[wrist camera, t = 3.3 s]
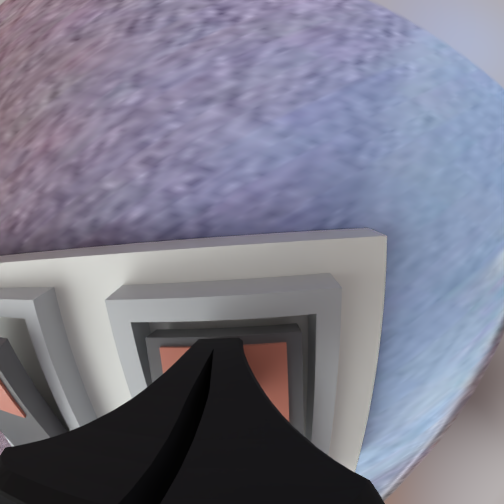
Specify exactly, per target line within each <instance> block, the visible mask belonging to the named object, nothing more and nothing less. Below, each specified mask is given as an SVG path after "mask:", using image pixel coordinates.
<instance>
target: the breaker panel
mask: <svg viewBox="0 0 504 504" xmlns="http://www.w3.org/2000/svg"><path fill="white" fill-rule="evenodd" d="M386 257H387V236H386V235H384V234H382V233H379V232H377V231H375V230H372V229H370V228H353V229H335V230H317V231H300V232H284V233H268V234H253V235H238V236H223V237H209V238H196V239H182V240H169V241H156V242H144V243H132V244H120V245H108V246H97V247H85V248H74V249H64V250H53V251H43V252H32V253H22V254H12V255H3V256H0V337H2V338H7V339H8V340H9V342H10V344H11V346H12V348H13V350H14V351H15V353H16V355H17V357H18V359H19V360H20V362H21V364H22V365H23V367H24V369H25V370H26V372H27V374H28V375H29V377H30V378H31V380H32V382H33V383H34V385H35V386H36V388H37V389H38V391H39V392H40V394H41V395H42V397H43V398H44V400H45V401H46V402H47V404H48V405H49V407H50V408H51V409H52V411H53V412H54V413H55V415H56V416H57V417H58V419H59V420H60V421H61V423H62V424H63V425H64V427H65V428H66V429H67V430H68V431H71V430H73V429H76V428H78V427H81V426H83V425H85V424H87V423H89V422H91V421H93V420H95V419H97V418H99V417H101V416H103V415H105V414H107V413H109V412H111V411H113V410H115V409H116V408H118V407H119V406H121V405H123V404H124V403H126V402H127V401H129V400H130V399H132V398H133V397H135V396H136V395H138V394H139V393H140V392H142V391H143V390H144V389H146V388H147V387H148V386H149V385H150V384H152V379H151V372H150V366H149V360H148V353H147V346H146V339H145V338H146V337H147V336H148V335H150V334H151V333H152V332H154V331H155V330H156V329H204V328H230V327H249V326H265V325H279V324H292V323H297V324H298V326H299V328H300V329H301V331H302V357H303V414H304V436H305V437H306V438H307V439H308V440H309V441H310V442H311V443H313V444H314V445H315V446H316V447H317V448H319V449H320V450H321V451H323V452H324V453H325V454H327V455H328V456H330V457H331V458H332V459H334V460H335V461H337V462H338V463H340V464H342V465H343V466H345V467H346V468H348V469H350V470H351V471H353V472H355V470H356V466H357V462H358V459H359V455H360V451H361V446H362V442H363V438H364V433H365V429H366V424H367V419H368V415H369V409H370V404H371V399H372V393H373V387H374V381H375V375H376V368H377V361H378V354H379V346H380V338H381V329H382V319H383V308H384V295H385V279H386ZM5 437H6V436H5ZM6 439H7V440H8V438H7V437H6ZM8 442H9V443H10V445H11V446H12V447H13V446H14V445H13V444H12V443H11V442H10V441H9V440H8Z"/></svg>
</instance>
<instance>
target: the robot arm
mask: <svg viewBox="0 0 504 504" xmlns="http://www.w3.org/2000/svg"><path fill="white" fill-rule="evenodd" d="M0 504H385V503H384V502H383V500H382V498H381V496H380V495H379V493H378V492H377V490H376V489H375V487H374V486H373V484H372V483H371V481H370V480H368V479H366V478H364V477H362V476H360V475H359V474H357V473H355V472H353V471H351V470H350V469H348V468H346V467H345V466H343V465H342V464H340V463H338V462H337V461H335V460H334V459H332V458H331V457H330V456H328V455H327V454H325V453H324V452H323V451H321V450H320V449H319V448H317V447H316V446H315V445H314V444H313V443H311V442H310V441H309V440H308V439H307V438H306V437H305V436H303V435H302V434H301V433H300V432H299V431H298V430H297V429H295V428H294V427H293V426H292V425H291V424H290V423H289V421H288V420H287V419H286V418H285V417H284V416H283V415H282V414H281V413H280V412H279V410H278V409H277V408H276V407H275V406H274V404H273V403H272V402H271V400H270V399H269V398H268V396H267V395H266V394H265V392H264V390H263V389H262V387H261V386H260V384H259V383H258V381H257V379H256V378H255V376H254V374H253V372H252V370H251V368H250V366H249V364H248V361H247V359H246V356H245V353H244V347H243V340H241V339H240V338H216V339H198V340H197V341H196V342H195V343H194V344H193V345H192V346H191V347H190V348H189V349H188V350H187V351H186V352H185V353H184V354H183V355H182V356H181V357H180V358H179V359H178V360H177V361H176V362H175V363H174V364H173V365H172V366H171V367H170V368H169V369H168V370H167V371H166V372H165V373H163V374H162V375H161V376H160V377H159V378H158V379H156V380H155V381H154V382H153V383H152V384H150V385H149V386H148V387H147V388H146V389H144V390H143V391H142V392H140V393H139V394H138V395H136V396H135V397H133V398H132V399H130V400H129V401H127V402H126V403H124V404H123V405H121V406H119V407H118V408H116V409H115V410H113V411H111V412H109V413H107V414H105V415H103V416H101V417H99V418H97V419H95V420H93V421H91V422H89V423H87V424H85V425H83V426H81V427H78V428H76V429H73V430H71V431H68V432H66V433H63V434H60V435H57V436H54V437H51V438H47V439H44V440H40V441H36V442H32V443H27V444H22V445H18V446H13V447H6V448H5V449H4V451H3V452H2V454H1V455H0Z"/></svg>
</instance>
